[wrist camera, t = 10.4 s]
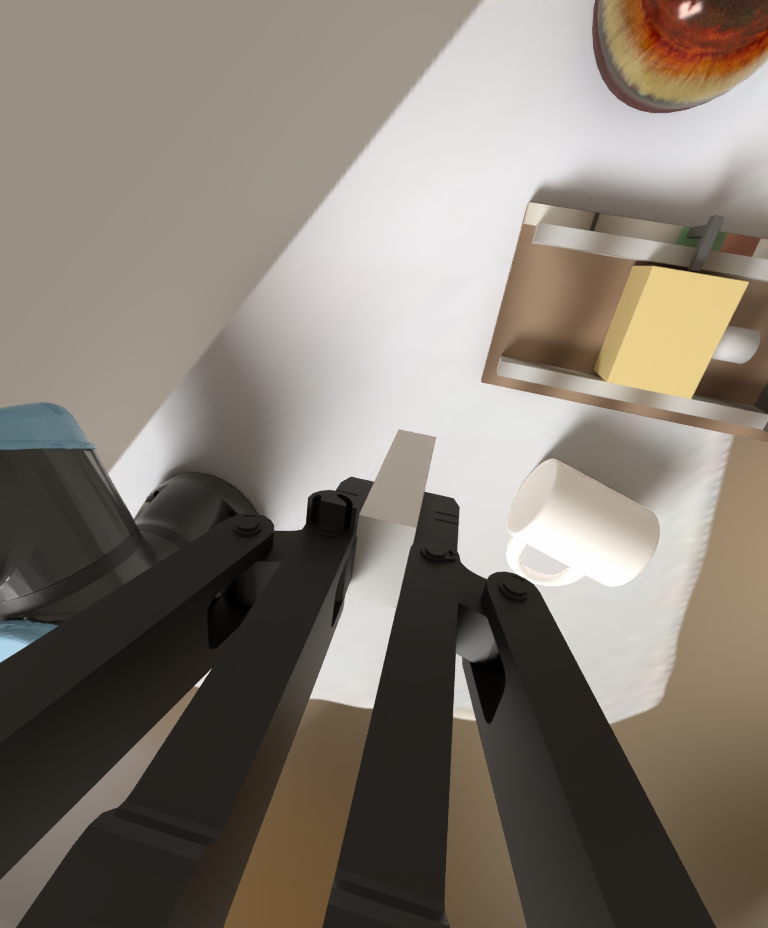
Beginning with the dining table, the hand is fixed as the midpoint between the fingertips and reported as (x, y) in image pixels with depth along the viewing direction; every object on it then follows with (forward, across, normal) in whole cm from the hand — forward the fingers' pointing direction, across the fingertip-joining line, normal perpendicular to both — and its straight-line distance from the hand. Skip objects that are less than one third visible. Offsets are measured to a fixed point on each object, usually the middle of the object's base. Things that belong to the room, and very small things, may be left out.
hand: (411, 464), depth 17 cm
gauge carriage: (+23, +17, +7) cm, 29 cm away
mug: (+25, +14, -14) cm, 32 cm away
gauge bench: (+24, +16, +5) cm, 30 cm away
